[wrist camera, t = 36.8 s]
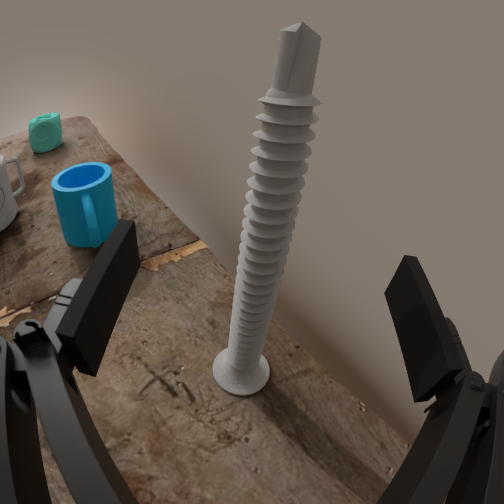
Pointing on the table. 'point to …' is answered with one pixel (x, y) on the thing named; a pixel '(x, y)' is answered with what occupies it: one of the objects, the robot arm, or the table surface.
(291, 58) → the screw
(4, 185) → the mug
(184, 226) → the table surface
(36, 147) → the decorative dice
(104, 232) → the mug
